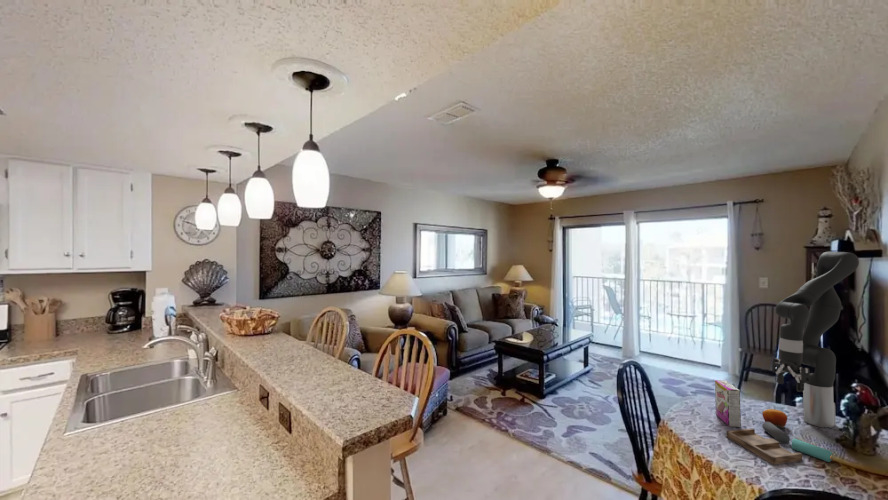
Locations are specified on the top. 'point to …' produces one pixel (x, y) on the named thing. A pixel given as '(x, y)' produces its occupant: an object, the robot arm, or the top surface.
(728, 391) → the candy bar box
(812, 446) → the teal rod
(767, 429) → the gray rounded cylinder
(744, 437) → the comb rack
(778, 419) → the fruit
